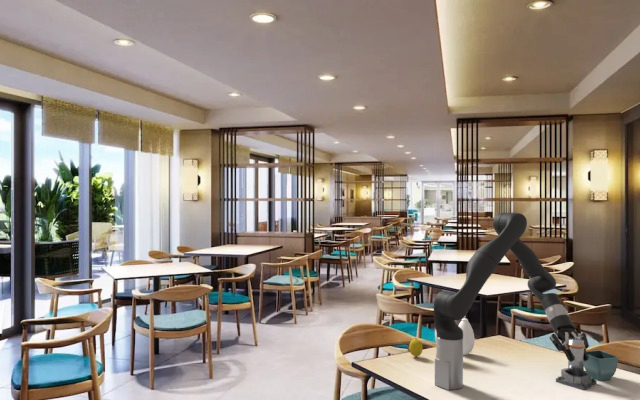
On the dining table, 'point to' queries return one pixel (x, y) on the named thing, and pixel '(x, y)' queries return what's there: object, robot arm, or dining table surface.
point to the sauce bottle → (467, 336)
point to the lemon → (415, 347)
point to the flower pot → (601, 364)
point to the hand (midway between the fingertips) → (579, 360)
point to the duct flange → (576, 380)
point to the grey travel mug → (576, 357)
